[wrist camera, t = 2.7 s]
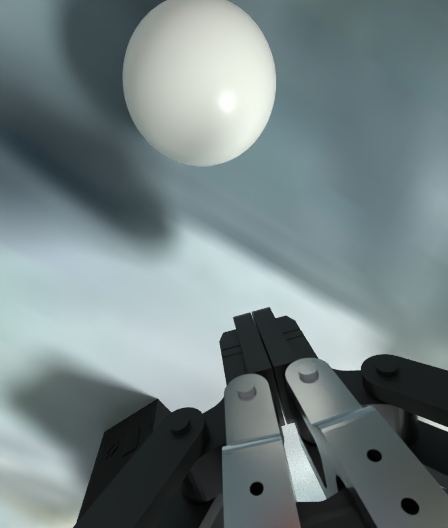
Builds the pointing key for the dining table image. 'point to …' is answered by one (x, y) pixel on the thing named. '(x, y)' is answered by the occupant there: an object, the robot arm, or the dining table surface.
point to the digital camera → (126, 452)
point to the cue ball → (199, 80)
